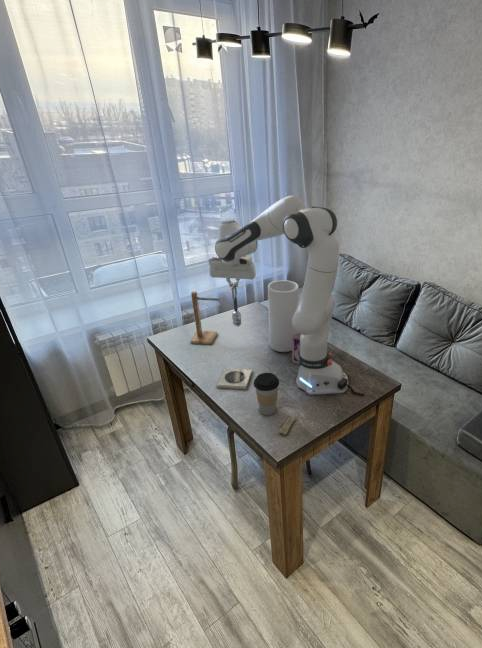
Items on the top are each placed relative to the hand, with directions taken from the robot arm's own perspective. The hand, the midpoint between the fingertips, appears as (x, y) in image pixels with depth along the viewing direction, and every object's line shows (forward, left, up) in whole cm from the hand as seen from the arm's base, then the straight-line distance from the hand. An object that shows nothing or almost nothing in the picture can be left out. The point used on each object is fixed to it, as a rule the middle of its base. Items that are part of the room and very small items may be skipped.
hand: (233, 286), depth 182 cm
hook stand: (+15, 0, -29) cm, 32 cm away
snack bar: (-32, +58, -29) cm, 73 cm away
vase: (-23, +2, -29) cm, 37 cm away
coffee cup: (-23, +50, -29) cm, 62 cm away
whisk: (0, 0, -21) cm, 21 cm away
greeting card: (-35, +16, -29) cm, 48 cm away
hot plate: (-6, +32, -29) cm, 44 cm away
